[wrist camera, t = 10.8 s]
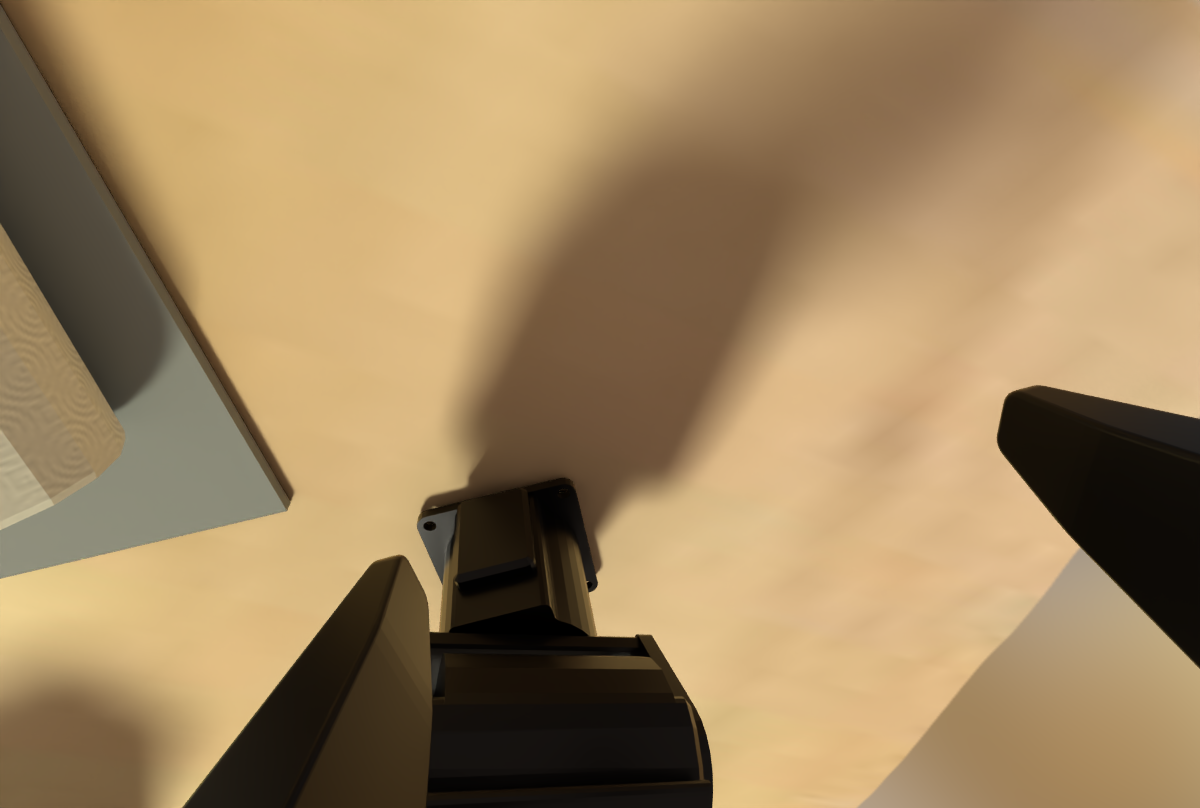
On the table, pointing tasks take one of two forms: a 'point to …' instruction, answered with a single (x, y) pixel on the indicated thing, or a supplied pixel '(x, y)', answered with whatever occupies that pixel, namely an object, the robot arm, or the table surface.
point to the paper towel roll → (44, 402)
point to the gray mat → (115, 350)
